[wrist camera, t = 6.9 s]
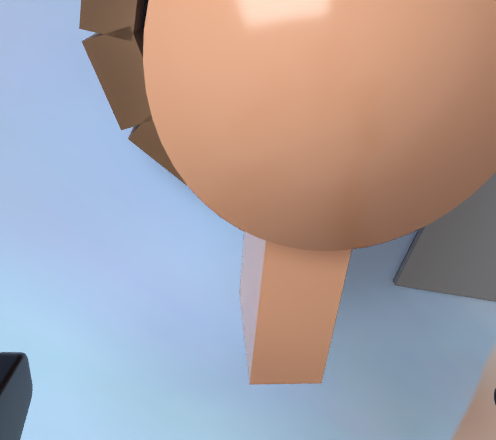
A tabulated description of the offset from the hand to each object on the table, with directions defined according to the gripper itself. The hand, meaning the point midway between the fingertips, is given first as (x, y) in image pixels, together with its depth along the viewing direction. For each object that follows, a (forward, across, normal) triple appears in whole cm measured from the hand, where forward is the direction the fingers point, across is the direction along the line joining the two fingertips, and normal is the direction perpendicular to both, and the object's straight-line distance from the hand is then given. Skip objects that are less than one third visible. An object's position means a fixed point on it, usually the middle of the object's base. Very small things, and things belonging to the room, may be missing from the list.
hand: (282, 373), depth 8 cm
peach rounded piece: (+11, -1, -3) cm, 11 cm away
